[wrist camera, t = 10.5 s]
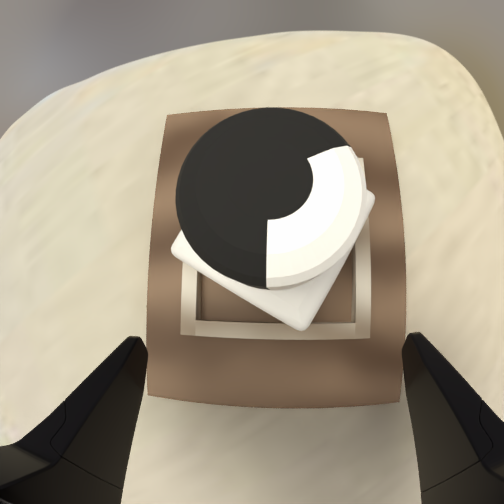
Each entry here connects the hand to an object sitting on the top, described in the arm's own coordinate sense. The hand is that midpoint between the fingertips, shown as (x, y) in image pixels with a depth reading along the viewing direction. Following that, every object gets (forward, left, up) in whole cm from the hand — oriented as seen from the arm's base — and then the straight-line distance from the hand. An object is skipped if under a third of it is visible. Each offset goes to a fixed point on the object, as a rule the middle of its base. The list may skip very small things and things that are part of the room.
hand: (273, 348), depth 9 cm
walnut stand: (+5, 0, -11) cm, 13 cm away
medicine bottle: (+5, 0, -10) cm, 12 cm away
